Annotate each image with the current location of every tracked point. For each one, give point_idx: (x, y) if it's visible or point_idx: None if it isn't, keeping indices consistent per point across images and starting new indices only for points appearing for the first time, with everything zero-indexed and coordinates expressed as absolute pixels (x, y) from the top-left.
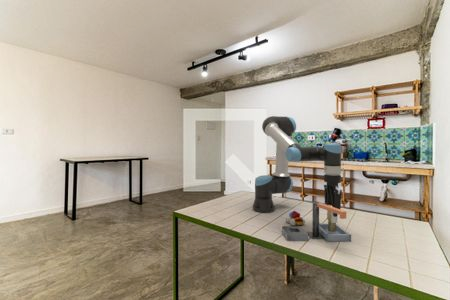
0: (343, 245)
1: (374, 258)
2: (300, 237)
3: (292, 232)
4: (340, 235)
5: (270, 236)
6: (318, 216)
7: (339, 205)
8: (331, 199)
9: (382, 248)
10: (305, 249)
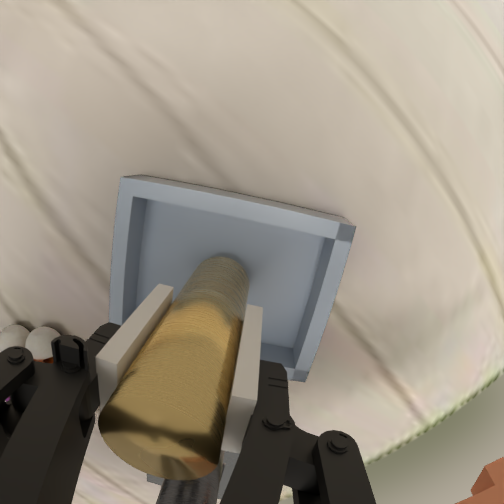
0: (367, 301)
1: (498, 251)
2: None
3: (222, 485)
4: (332, 304)
5: None
6: (218, 471)
7: (363, 499)
8: (57, 466)
9: (450, 109)
10: None
